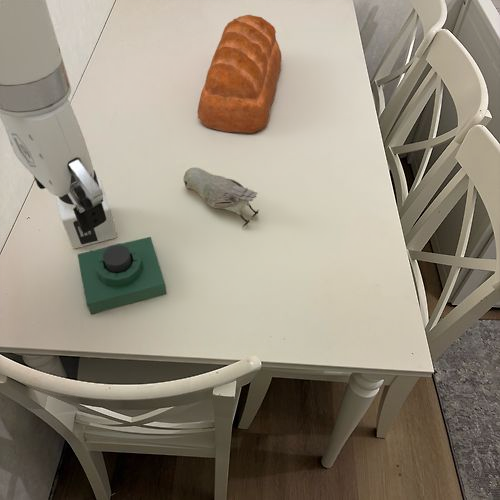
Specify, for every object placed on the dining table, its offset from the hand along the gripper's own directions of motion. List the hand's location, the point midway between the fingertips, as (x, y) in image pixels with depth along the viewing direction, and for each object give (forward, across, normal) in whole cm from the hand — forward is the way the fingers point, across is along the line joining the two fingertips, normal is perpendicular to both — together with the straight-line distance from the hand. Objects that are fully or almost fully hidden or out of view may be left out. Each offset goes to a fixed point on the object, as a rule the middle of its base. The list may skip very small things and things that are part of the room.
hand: (71, 203), depth 60 cm
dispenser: (+22, -1, +4) cm, 22 cm away
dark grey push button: (+17, -1, +4) cm, 18 cm away
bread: (+22, -26, +55) cm, 65 cm away
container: (+22, -14, +6) cm, 27 cm away
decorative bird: (+22, -3, +27) cm, 35 cm away
